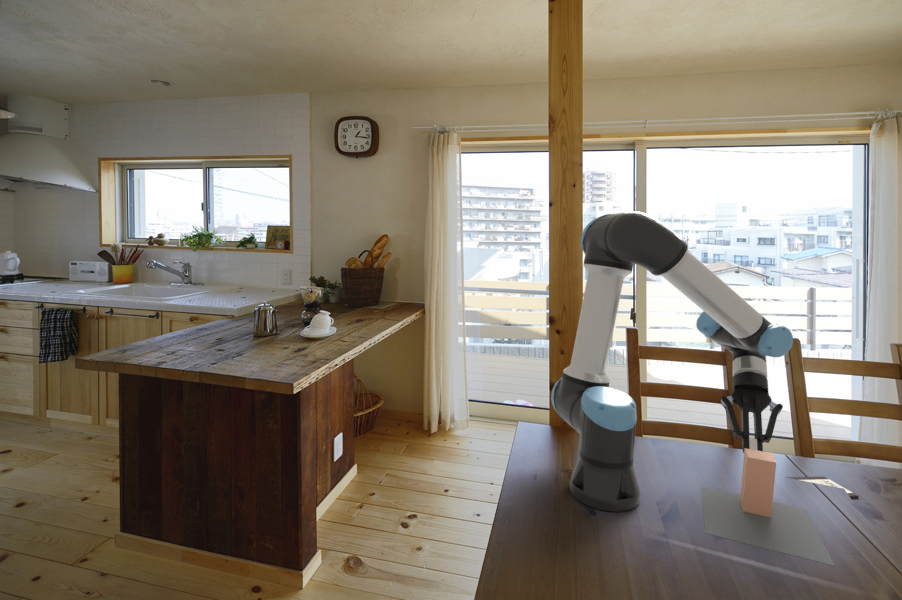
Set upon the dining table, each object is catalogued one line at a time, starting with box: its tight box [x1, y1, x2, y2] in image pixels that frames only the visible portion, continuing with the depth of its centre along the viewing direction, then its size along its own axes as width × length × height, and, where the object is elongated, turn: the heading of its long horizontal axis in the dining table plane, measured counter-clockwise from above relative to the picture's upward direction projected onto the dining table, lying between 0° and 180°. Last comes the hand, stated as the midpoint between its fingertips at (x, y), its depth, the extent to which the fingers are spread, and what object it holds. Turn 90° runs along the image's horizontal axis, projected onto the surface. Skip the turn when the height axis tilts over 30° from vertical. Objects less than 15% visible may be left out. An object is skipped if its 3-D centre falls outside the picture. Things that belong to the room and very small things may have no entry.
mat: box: [700, 486, 835, 567], centre depth 94 cm, size 20×20×1 cm
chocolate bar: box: [784, 476, 859, 499], centre depth 108 cm, size 9×1×18 cm
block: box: [739, 448, 777, 517], centre depth 98 cm, size 5×5×12 cm
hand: (753, 467), depth 104 cm, fingers closed
